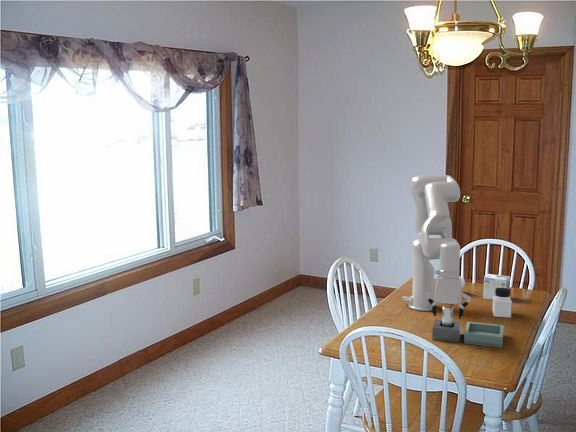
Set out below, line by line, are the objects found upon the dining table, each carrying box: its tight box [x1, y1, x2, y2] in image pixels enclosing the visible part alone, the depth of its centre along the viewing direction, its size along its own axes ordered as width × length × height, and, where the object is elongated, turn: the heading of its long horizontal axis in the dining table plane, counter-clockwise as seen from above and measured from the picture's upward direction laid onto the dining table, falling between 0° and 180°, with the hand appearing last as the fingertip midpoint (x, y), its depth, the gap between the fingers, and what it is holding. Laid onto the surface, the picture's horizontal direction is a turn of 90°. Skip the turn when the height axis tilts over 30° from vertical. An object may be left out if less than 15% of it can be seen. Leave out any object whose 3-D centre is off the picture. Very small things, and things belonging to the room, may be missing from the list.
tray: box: [463, 321, 505, 348], centre depth 256 cm, size 14×14×4 cm
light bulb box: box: [482, 273, 511, 301], centre depth 307 cm, size 11×7×11 cm, turn 58°
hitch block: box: [431, 319, 462, 344], centre depth 258 cm, size 10×10×5 cm
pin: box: [441, 303, 455, 327], centre depth 258 cm, size 5×5×14 cm
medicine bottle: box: [492, 287, 513, 319], centre depth 284 cm, size 7×7×12 cm
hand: (447, 316), depth 257 cm, fingers open, 9 cm apart
